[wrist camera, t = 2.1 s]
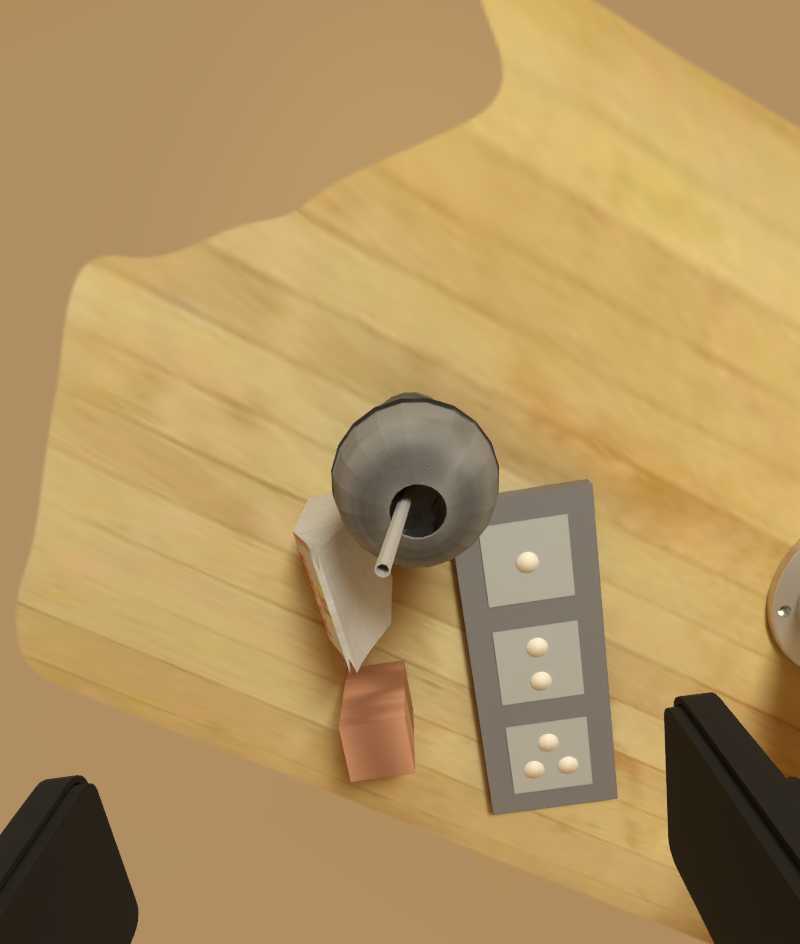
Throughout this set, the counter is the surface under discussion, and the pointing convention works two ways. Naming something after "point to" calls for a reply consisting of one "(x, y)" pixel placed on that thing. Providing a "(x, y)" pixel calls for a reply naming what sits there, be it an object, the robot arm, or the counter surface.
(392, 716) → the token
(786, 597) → the robot arm
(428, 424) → the beverage cup
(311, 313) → the counter surface
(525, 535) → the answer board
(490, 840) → the counter surface
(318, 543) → the gable top carton
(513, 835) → the counter surface
